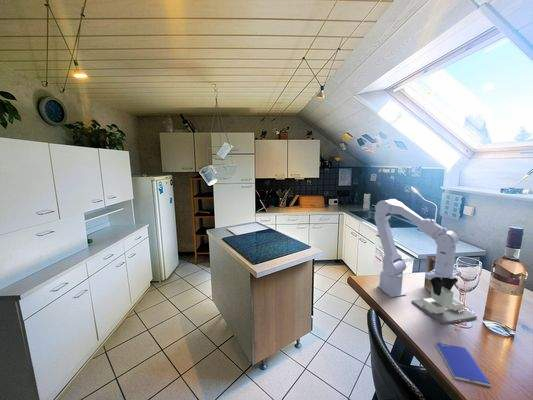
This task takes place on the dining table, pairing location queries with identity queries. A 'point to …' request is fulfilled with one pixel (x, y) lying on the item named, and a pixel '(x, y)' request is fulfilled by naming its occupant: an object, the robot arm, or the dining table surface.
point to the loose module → (443, 296)
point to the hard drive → (462, 364)
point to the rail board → (446, 314)
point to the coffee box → (429, 267)
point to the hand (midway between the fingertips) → (441, 293)
